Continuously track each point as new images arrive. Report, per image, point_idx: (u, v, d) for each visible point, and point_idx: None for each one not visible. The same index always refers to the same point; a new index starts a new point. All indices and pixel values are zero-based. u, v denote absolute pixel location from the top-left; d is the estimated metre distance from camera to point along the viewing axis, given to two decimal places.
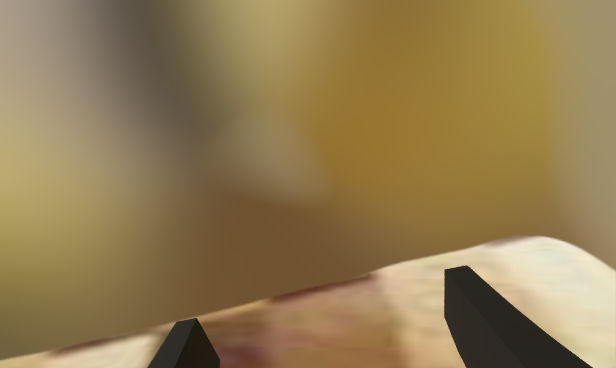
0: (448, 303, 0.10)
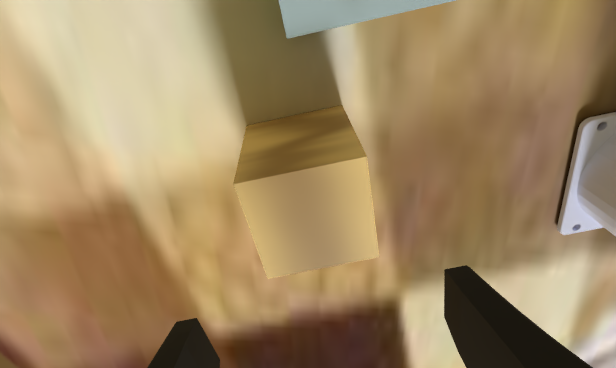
0: (448, 303, 0.10)
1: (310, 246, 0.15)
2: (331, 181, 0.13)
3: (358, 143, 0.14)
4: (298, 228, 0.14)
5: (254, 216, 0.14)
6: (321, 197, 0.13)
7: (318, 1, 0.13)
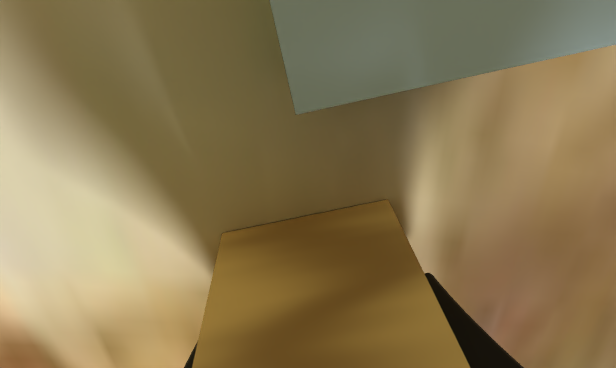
0: None
1: None
2: None
3: (457, 349, 0.06)
4: None
5: None
6: None
7: (372, 35, 0.06)
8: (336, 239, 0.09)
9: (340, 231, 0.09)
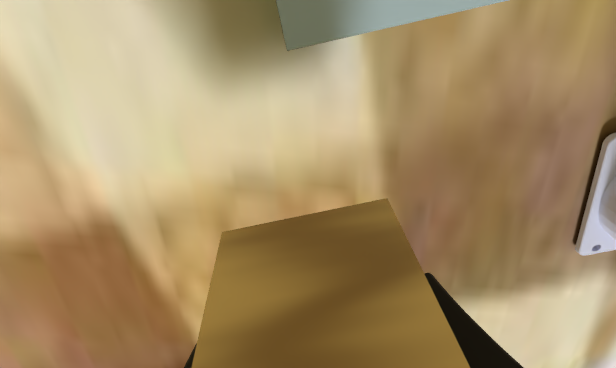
0: None
1: None
2: None
3: (454, 346, 0.06)
4: None
5: None
6: None
7: (323, 9, 0.12)
8: (335, 238, 0.09)
9: (339, 230, 0.09)
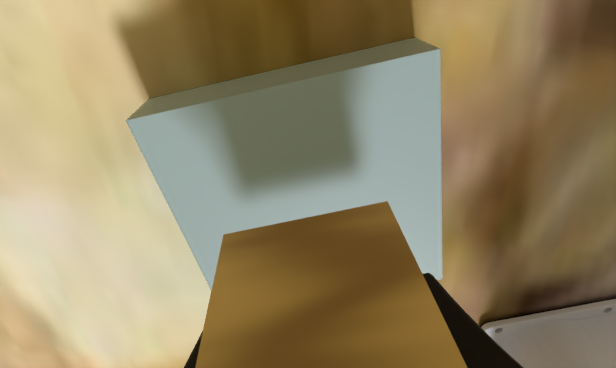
0: None
1: None
2: None
3: (454, 350, 0.06)
4: None
5: None
6: None
7: None
8: (336, 241, 0.09)
9: (340, 233, 0.10)
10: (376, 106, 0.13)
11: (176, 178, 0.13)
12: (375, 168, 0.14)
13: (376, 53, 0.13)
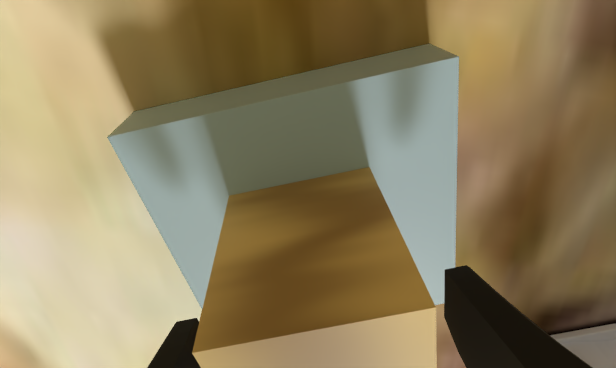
0: (448, 303, 0.10)
1: None
2: (368, 342, 0.07)
3: (412, 265, 0.08)
4: None
5: None
6: (349, 364, 0.08)
7: None
8: (324, 197, 0.11)
9: (328, 191, 0.11)
10: (387, 119, 0.11)
11: (165, 199, 0.12)
12: (384, 186, 0.13)
13: (386, 61, 0.12)
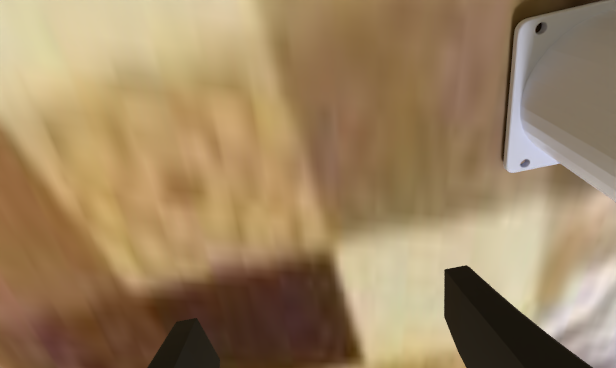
0: (448, 303, 0.10)
1: None
2: None
3: None
4: None
5: None
6: None
7: None
8: None
9: None
10: None
11: None
12: None
13: None
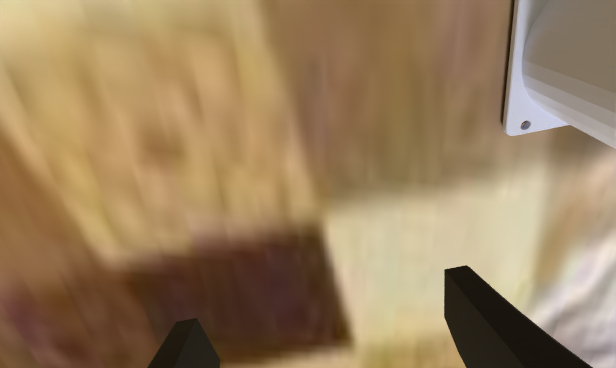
0: (448, 303, 0.10)
1: None
2: None
3: None
4: None
5: None
6: None
7: None
8: None
9: None
10: None
11: None
12: None
13: None
